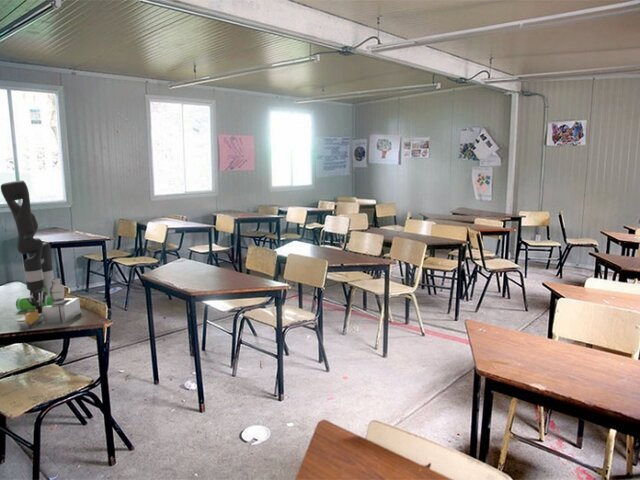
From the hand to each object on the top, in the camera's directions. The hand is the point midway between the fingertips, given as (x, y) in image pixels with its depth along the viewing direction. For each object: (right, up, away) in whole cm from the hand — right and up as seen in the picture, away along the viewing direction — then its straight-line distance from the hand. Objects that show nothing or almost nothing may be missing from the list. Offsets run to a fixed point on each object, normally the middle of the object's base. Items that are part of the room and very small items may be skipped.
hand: (39, 313), depth 235 cm
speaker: (-13, -1, +19) cm, 23 cm away
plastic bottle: (+9, -3, +3) cm, 10 cm away
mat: (-7, -3, +5) cm, 9 cm away
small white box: (+7, -4, -1) cm, 8 cm away
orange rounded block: (0, -5, -5) cm, 7 cm away
